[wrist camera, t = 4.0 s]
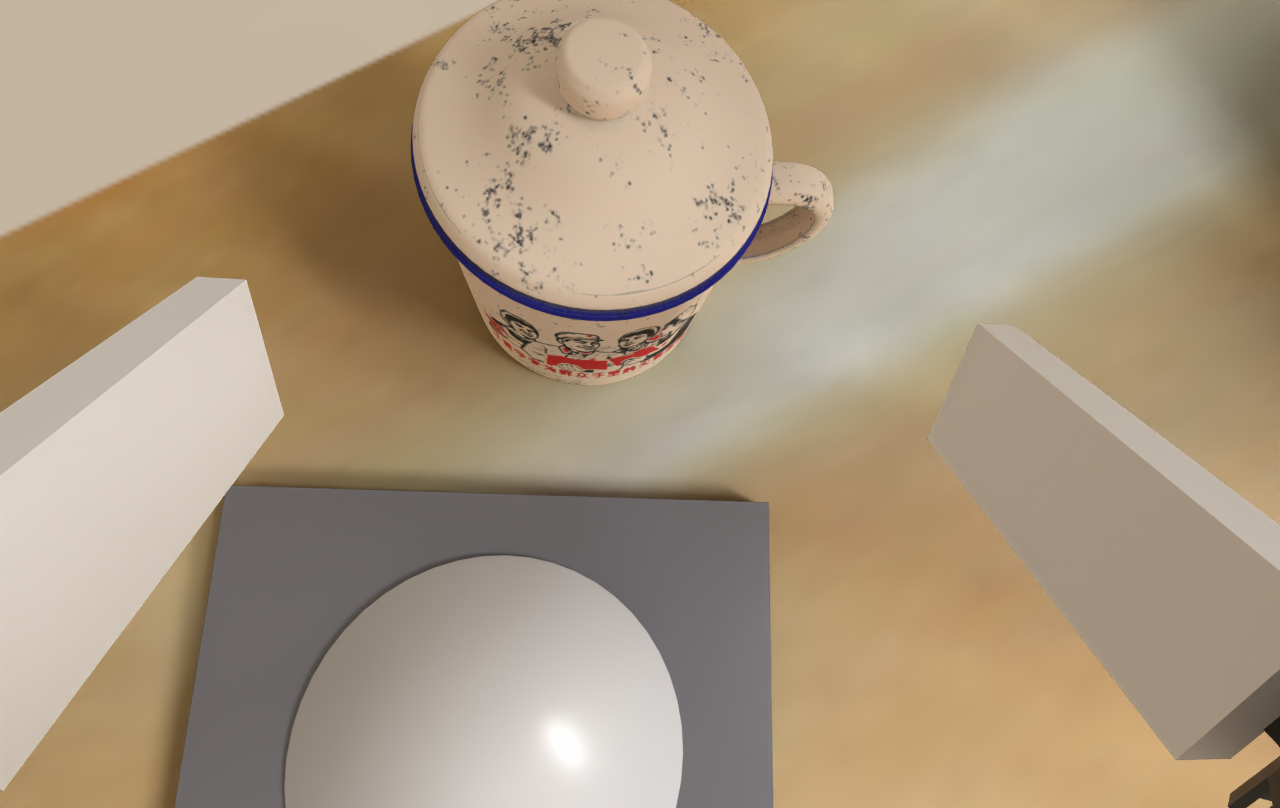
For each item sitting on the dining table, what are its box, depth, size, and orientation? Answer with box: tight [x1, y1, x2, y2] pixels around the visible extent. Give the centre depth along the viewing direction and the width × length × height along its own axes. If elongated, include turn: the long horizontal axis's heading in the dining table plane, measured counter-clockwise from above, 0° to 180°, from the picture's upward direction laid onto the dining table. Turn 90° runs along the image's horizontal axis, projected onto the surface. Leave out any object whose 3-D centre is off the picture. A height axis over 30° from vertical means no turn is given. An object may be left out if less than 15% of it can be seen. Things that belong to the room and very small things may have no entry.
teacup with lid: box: [411, 0, 834, 385], centre depth 18 cm, size 12×9×12 cm
